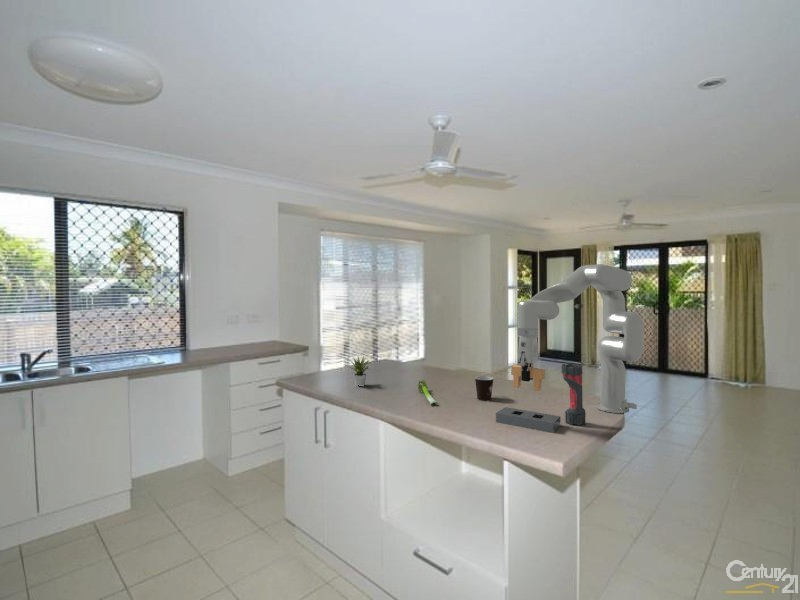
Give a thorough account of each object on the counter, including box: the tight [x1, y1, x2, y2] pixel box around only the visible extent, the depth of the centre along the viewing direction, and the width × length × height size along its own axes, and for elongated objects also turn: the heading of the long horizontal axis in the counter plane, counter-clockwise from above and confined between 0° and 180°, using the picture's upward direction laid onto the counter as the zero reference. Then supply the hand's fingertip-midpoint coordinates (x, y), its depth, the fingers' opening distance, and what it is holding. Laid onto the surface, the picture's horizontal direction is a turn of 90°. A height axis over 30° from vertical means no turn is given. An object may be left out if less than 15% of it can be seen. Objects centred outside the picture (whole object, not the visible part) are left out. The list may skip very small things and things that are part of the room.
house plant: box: [349, 355, 372, 386], centre depth 225 cm, size 14×14×16 cm
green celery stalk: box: [417, 379, 440, 406], centre depth 202 cm, size 6×7×30 cm
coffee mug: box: [474, 375, 494, 402], centre depth 199 cm, size 12×9×10 cm
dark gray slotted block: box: [495, 406, 561, 434], centre depth 162 cm, size 22×10×4 cm, turn 55°
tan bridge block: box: [510, 364, 545, 392], centre depth 162 cm, size 12×3×8 cm, turn 55°
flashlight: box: [561, 363, 587, 426], centre depth 162 cm, size 8×8×23 cm
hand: (527, 379), depth 162 cm, fingers closed on tan bridge block, 3 cm apart
